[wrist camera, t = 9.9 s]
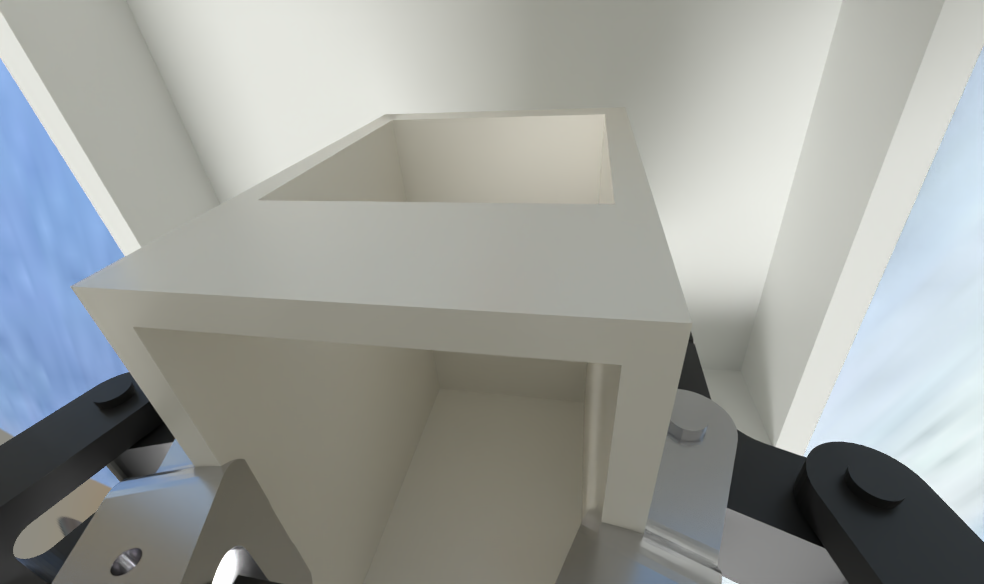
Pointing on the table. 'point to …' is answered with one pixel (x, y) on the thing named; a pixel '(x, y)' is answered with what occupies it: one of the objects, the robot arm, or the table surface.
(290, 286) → the open box
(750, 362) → the tray
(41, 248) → the table surface
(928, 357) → the table surface
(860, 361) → the table surface
